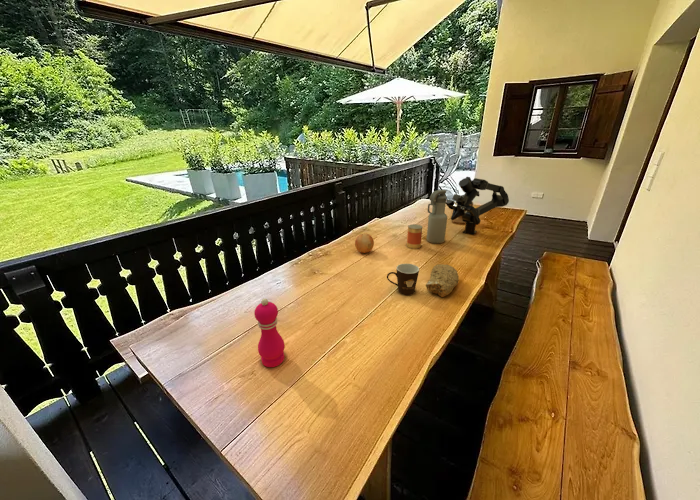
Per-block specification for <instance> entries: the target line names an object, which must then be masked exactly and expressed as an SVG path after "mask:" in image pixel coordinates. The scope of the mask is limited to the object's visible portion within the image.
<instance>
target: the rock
mask: <svg viewBox="0 0 700 500" xmlns="http://www.w3.org/2000/svg"><path fill="white" fill-rule="evenodd" d="M459 277H460V276H459V274H458V270H457V269H456V268H455V267H454V266H452V265H449V264H443V263H440V264H435V265H434V266H433V267H432V268H431V272H430V278H429V280H427V282H426V283H425V287H426V289H427V290H428V291H429V292H431V293H433V294H435V295H438V296H439V297H441V298H442V297H443V298H444V297H446V296H448V295H450V294H451V293H452V292H453V290H454V288H455V287H457V286H458V285H459V282H460V279H459Z"/></svg>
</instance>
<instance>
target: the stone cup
mask: <svg viewBox="0 0 700 500" xmlns="http://www.w3.org/2000/svg"><path fill="white" fill-rule="evenodd" d="M470 206H473V207H474V202H473V201H472V204H470ZM451 222H453V223H457V224H466V222H463V220H462V216H460V217H458V218H456V219H454V220H451Z"/></svg>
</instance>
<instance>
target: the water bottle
mask: <svg viewBox="0 0 700 500" xmlns="http://www.w3.org/2000/svg"><path fill="white" fill-rule="evenodd" d="M446 194H447V190H446V189H437V190H434V191H433V192H431V194H430V196H429V201H430V203H428V204H427V213H428V218H427V229H426V241H427V242H429V243H431V244H437V245H438V244H442V243H445V240H446V232H447V222H448V215H447V214H446V201H447V200H448V199H447V198H448V197H447V196H446ZM430 206H432V208H431V207H430ZM430 208H431V211H430Z"/></svg>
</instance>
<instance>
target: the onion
mask: <svg viewBox="0 0 700 500" xmlns="http://www.w3.org/2000/svg"><path fill="white" fill-rule="evenodd" d="M374 246H375V241H374V237H373V236H372V235H371V234H369V233H367V232H364V233H360V234H358V235H357V236H356V237H355V240H354V247H355V249H356V251H358V252H359V253H361V254H365V253H369V252H371V251H372V250H373V248H374Z"/></svg>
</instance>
